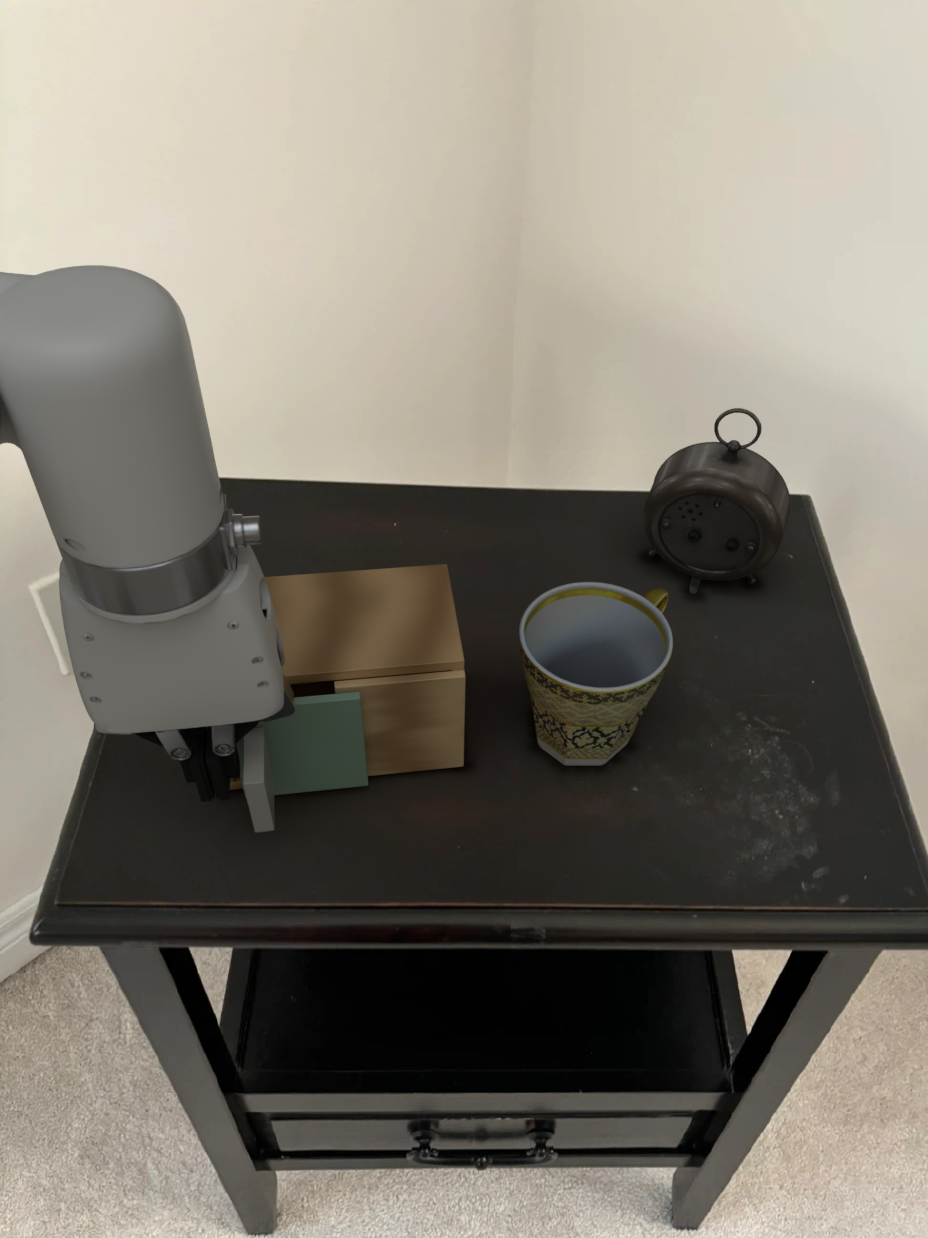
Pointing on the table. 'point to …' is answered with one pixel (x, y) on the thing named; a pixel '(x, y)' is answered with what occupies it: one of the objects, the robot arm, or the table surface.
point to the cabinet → (380, 658)
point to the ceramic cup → (592, 666)
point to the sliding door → (303, 753)
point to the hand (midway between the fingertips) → (216, 781)
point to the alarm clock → (717, 509)
